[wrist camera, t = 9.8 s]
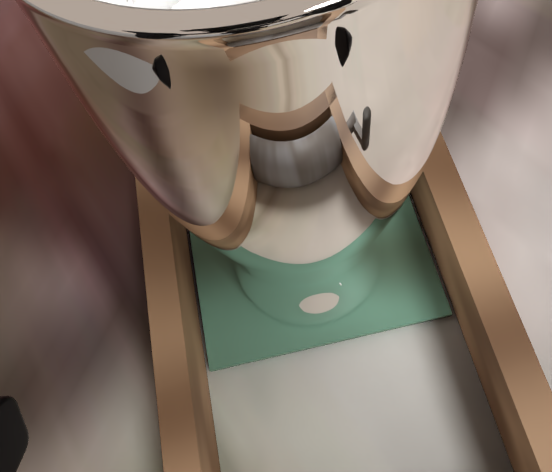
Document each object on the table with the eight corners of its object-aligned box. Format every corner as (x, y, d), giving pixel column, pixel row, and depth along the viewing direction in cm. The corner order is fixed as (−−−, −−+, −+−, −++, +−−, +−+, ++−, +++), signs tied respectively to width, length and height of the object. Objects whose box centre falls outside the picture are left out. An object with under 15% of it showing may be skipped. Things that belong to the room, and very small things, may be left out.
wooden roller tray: (712, 700, 13) (850, 801, 9) (225, 796, 13) (186, 926, 10) (457, 129, 21) (481, 70, 17) (156, 204, 21) (121, 161, 18)
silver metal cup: (203, 312, 19) (-168, 6, 5) (253, 167, 21) (92, -315, 7) (373, 358, 17) (508, 100, 4) (406, 196, 20) (568, -341, 6)
